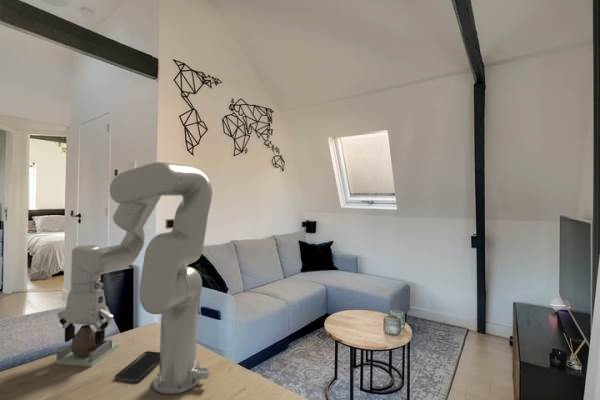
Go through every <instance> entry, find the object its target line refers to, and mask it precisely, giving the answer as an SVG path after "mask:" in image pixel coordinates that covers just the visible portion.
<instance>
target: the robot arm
mask: <svg viewBox="0 0 600 400" xmlns="http://www.w3.org/2000/svg"><path fill="white" fill-rule="evenodd" d="M108 192H109V196H110V198H111V199H112V200H113V201H114V202H115V203H116V204H119V205H118V206H117V208H116V210H115V212H114V213H113V215H112V221H113V223H114V224H115V225H116V226H117V227H119V228H120V229H122V230H123V231H125V232H126V233H125V236H124V237H123V239H122V240H121V242H120V243H119V244H117V245H112V246H106V247H102V248H101V247H100V246H99V245H94V244H85V245H83V244H82V245H77V246H75V247H74V248H72V251H71V265H70V266H71V269H70V270H71V274H70V276H71V277H70V290H69V292H68V294H67V300H66V305H65V306H66V307H65V309H64V310H61V311H59V312H57V314H56V315H57V318H58V319H59V323H60V324H61V325H62V329H63V330H64V342H65V343H68V342H69V341H72V339H73V337H74V336H75V334H76V331H75V330H76V325H90V326H94V328H95V329H96V331H95V344H99V343H100V342H102V341H103V340H104V339H105V335H106V330H105V329H106V328H108V326H109V325H110V324H111V322H112V321H113V319H114V315H113V314H111V313H110V312H108V311H107V308H106V307H107V306H106V304H107V303H106V297H105V292H104V289H102V288H103V287H104V283H102V281H101V279H102V278H101V275H104V274H105V275H106V274H108V273H111V272H114V271H119V270H122V269H125V268H128V267H130V266H131V265H132V264H133V263H134V262H135V261H136V260H137V258H138V256H139V255H140V254H141V251H142V250H143V248H144V245H145V231H144V227H145V224H146V223H147V221H149V218H150V216H151V214H152V212H153V211H154V210H155V207H156V206H157V204H158V203H159V201H160V199H161V198H162V197H163V196H169V197H170V196H174V197H175V196H177V197H178V196H180V197H182V200H181V201H180V203H179V205H178V206H177V208H176V211H175V215H174V221H173V225H172V229H171V231H169V232H164V233H160V234H158V235H156V236H154V237H153V238H152V239H151V240H150V241H149V243H148V245H147V246H146V249H145V252H144V257H143V263H142V270H141V275H140V276H141V277H140V282H139V283H140V284H139V288H138V290H139V291H138V293H139V295H138V296H139V301H140V302H139V303H140V305H141V307H142V308H143V309H144V311H145V312H147V313H148V314H151V315H160V314H161V318H160V334H159V335H160V336H159V338H160V339H159V341H160V343H159V352H160V364H159V365H158V367H159V369H158V372H157V373H156V374H155V375H154V377H153V379H152V388H153V389H154V390H155V391H156V392H158V393H161V394H165V395H173V394H174V395H175V394H180V393H184V392H186V391H189V390H191V389H192V388H195V387H196V386H197V385H198V384H199V383H200V381H201V380H209V379H210V375H211V373H210V371H209V367H208V366H201V365H200V360H198V359H197V346H198V345H197V344H198V342H197V341H198V340H197V337H198V321H199V320H198V314H199V305H200V304H199V303H200V301H201V300H200V299H201V294H202V289H203V280H202V276H201V274H200V273H199V271H198V270H197V269H195V268H194V267H191V266H188V265H191V264H193V263H195V262H197V261H198V260H199V259H200V257H202V254H203V250H204V244H205V237H206V232H207V225H208V219H209V213H210V212H209V211H210V209H211V204H212V200H213V199H212V198H213V188H212V184H211V181H210V180H209V178H208V177H207V174H205V173H204V172H203V171H201V170H200V169H198V168H196V167H194V166H189V165H185V164H179V163H170V162H164V161H163V162H160V161H157V162H151V163H148V164H143V165H141V166H139V167H135V168H132V169H128V170H125V171H123V172H121V173H119V174H117V175H116V176H115V177H114V178H113V179H112V181H111V182H110V184H109V191H108ZM104 320H105V321H104Z"/></svg>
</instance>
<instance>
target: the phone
mask: <svg viewBox="0 0 600 400" xmlns="http://www.w3.org/2000/svg"><path fill="white" fill-rule="evenodd" d="M159 364H160V351H150V350H148V351H147V350H146V351H145V352H143V353H141V354H140V355H139V356H137V358H135V359H134V360H133V361H131V362H130V363H129V364H128V365H127V366H125V367H124V368H122V369H121V370H120V371H119V372H117V374H115V375H114V381H116V382H117V381H118V382H124V383H130V384H131V383H133V384H139V383H140V382H142V381H143V380H144V379H145V378H147V376H149V375H150V373H151V372H153V371H154V370H155V369H156V368H158V367H159Z"/></svg>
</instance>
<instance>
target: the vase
mask: <svg viewBox="0 0 600 400" xmlns="http://www.w3.org/2000/svg"><path fill="white" fill-rule="evenodd" d="M91 326H92V325H84V324H82V325H81V326H80V328H79V329H78V331H77V332H75V336H74V337H73V339H71V342H70V343H71V350H72V353H73V354H74V355H75V356H76V357H79V358H83V357H87V356H89V354H90V353H91V352H92V351H94V350H95V349H96V348H97V346H98V344H95V332H96V331H95V330H94V329H93V328H92V327H91Z"/></svg>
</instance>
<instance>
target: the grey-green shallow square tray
mask: <svg viewBox="0 0 600 400" xmlns="http://www.w3.org/2000/svg"><path fill="white" fill-rule="evenodd" d="M71 343H72V342H70V343H68V344H67V345H65V346H63V347H62V348H60V349H59V350H57V351H56V364H57V365H68V366H79V367H90V368H91V367H93V366H95V365H96V364H97V363H99V362H100V361H101V360H102V359H104V358H105V357H107V356H108V355H109V354H110V353H112V352H114V350H116V349H117V348H118V347H119V343H118V342H113V340H112V339H105V338H104V340H103V341H102V342H100V343H99V344H98V346H97V348H96V349H95V350H94V351H92V352H91V353H90V354H89V356H87V357H83V358H79V357H76V356H75V355H74V354H73V353H72V350H71Z"/></svg>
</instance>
